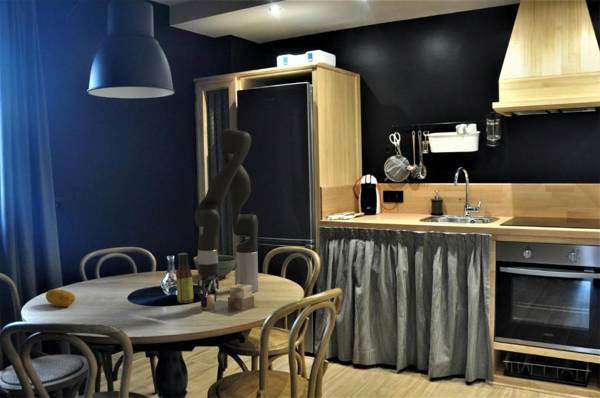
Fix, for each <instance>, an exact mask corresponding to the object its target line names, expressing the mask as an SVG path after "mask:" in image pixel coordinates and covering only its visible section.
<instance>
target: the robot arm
mask: <svg viewBox="0 0 600 398" xmlns="http://www.w3.org/2000/svg"><path fill="white" fill-rule="evenodd" d="M251 144H252V137H251V135H250V133H248V132H246V131H242V130H238V129H233V128H225V129H223V130H222V131H221V133H220V137H219V147H220V152H221V156H222V160H223V164H224V167H223V168H222V169H221V170H220V171H218V173H216V174H215V175H214V176H213V178H212V180H211V181H210V183H209V187H208V189H207V192H206V194H205V196H204V198H203V199H202V200H201V202H200V203H199V205H198V206H197V208H196V210H195V213H194V222H195V224H196V225H197V226H199V227H201V228H202V233H201V234H200V235H198V238H197V256H198V270H197V274H198V275H199V276H201V279H198V280H197V297H200V305H201V307H207V294H213V295H214V300H215V302H216V301H217V292H218V290H219V289H220V285H219V283H220V282H219V280H220V279H218V255H219V253H218V240H217V239H218V237H219V231H220V227H221V217H220V216H221V215H220V214H219V212H218V211H217V210H216V209H217V207H220V206H221V205H222V204H223V203H224V201H225V199H226V195H227V193H228V197H229V203H230V213H231V214H230V216H231V226H232V227H231V228H232V233H233V234H234V235H235V236H238V237H240V236H241V237H248V236H249V239H248V240H246V241H244V242H241V243H238V244H237V245H236V247H235V255H236V256H235V257H236V263H235V266H236V268H235V269H234V285H237V284H243V285H252V293H255V292H258V291H259V262H258V252H259V251H258V232H259V229H258V227H259V220H258V216H257V215H256V214H253V213H252V214H247V213H246V214H241V213H240V211H241V209H242V208H243V206H244V204H246V202H247V200H248V199H249V197H250V195H251V192H252V189H251V179H250V176H249V174H248V172H247V171H246V169H245V167H244V166H243V165H242V164H243V162H244V160H245V158H246V156H248V153H249V150H250V148H251Z"/></svg>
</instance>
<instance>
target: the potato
mask: <svg viewBox="0 0 600 398" xmlns="http://www.w3.org/2000/svg"><path fill="white" fill-rule="evenodd" d="M45 298H46V300H47V302H48V303H49V304H51V305H53V306H55V307H59V308H60V307H61V308H63V307H65V308H66V307H69V306H71V305H72V304H73V303H74V302H75V300H76V296H75V294H74V293H73V292H71V291H68V290H64V289H49V290H48V291H47V292H46V293H45Z"/></svg>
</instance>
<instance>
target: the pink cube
mask: <svg viewBox="0 0 600 398" xmlns="http://www.w3.org/2000/svg"><path fill="white" fill-rule="evenodd" d="M213 309H215V300H214V295H213V294H210V293H208V294H207V307H202V310H213Z"/></svg>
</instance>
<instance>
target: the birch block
mask: <svg viewBox="0 0 600 398" xmlns="http://www.w3.org/2000/svg"><path fill="white" fill-rule="evenodd" d="M250 296H253V292H252V285H243V284H237V285H235V284H234V285H231V286H230V287H229V297H230V298H238V299H245V298H248V297H250Z"/></svg>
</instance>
